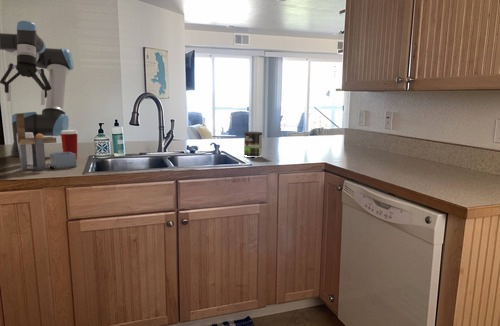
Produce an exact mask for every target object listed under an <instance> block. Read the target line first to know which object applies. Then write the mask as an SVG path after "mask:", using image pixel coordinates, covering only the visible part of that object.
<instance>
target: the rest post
mask: <svg viewBox="0 0 500 326" xmlns="http://www.w3.org/2000/svg"><path fill="white" fill-rule="evenodd" d="M19 156H20V157H19V165H20V171H22V172H28V168H29V167H28V165H27V156H26V145H20V144H19Z"/></svg>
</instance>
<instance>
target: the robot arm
mask: <svg viewBox="0 0 500 326" xmlns="http://www.w3.org/2000/svg"><path fill="white" fill-rule="evenodd" d="M16 24H17V25H16V33H6V32H5V33H4V32H3V33H2V32H0V51H5V52H7V53H10V54H12V55H13V56H16V65H15V64H13V63H12V62H10V63H9V64H8V67H7V69H6V71H5V73H4V74H3V75H2V77H1V79H0V85H1V84H2V85H3V87H4V93H5V94H6V96H7V97H6V99H7V102H10V101H12V85H11V83H12V82H14V81H15V80H16V79H17V78H19V76H21V77H26V78H32V79H33V80H34V81H35V83H36V84H37V85H38V86H39V87H40V89H41V91H40V99H41V100H40V105H41V106H44V105H45V107H44V108H43V109H42V111H41V113H39V114H38V112H37V111H30V112H22V113H23V114H24V127H25V132H32V133H33V135H34V138H36V135H37V134H39V133H40V134H42V135H43V136H44V137H58V136H59V137H61V134H60V133H61V131H62V130H69V126H70V124H69V123H70V121H69V120H70V119H69V116H68V115H67V114H66V112H65V111H64V103H65V91H66V83H67V81H66V79H67V76H68V75H69V74H70V71H72V70H74V61H73V56H72V53H71V51H70V50H69V49H68V48H51V47H50V48H49V47H46V42H45V41H44V40H43V39H42V38H41V37H40V35H38V34H37V26H36V23H34V22H31V21H28V20H19V21H18V22H17V23H16ZM14 69H16V71H17V72H16V73H15V74H14V75H13V76H11V77H10V78H9V79H8V80H7V78H8V77H9V75H10V73H12V71H13V70H14ZM45 69H46V70H47V71H48V73H49V74H48V78H47V76H46V74H45ZM37 73H38V75H39V76H40V78H41V79H40V78H39V76H38V75H37ZM6 80H7V81H6ZM11 126H12V134H13V135H12V136H13V137H12V138H13V143H12V146H11V150H10V156H11V157H14V158H15V157H17V158H20V156H19V149H18V144H17V124H16V113H14V114H13V115H12V116H11Z"/></svg>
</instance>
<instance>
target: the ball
mask: <svg viewBox="0 0 500 326" xmlns="http://www.w3.org/2000/svg"><path fill="white" fill-rule="evenodd" d="M44 137H45V136H43V135H42V134H40V133H39V134H37V135H36V139H39V138H44Z"/></svg>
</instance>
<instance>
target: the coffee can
mask: <svg viewBox="0 0 500 326" xmlns="http://www.w3.org/2000/svg"><path fill="white" fill-rule="evenodd" d="M243 145H244V147H243V149H244V150H243V153H244V154H243V156H244V155H247V156H260V155H262V152H263V150H262V148H263V132H261V131H245V132H244V144H243Z"/></svg>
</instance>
